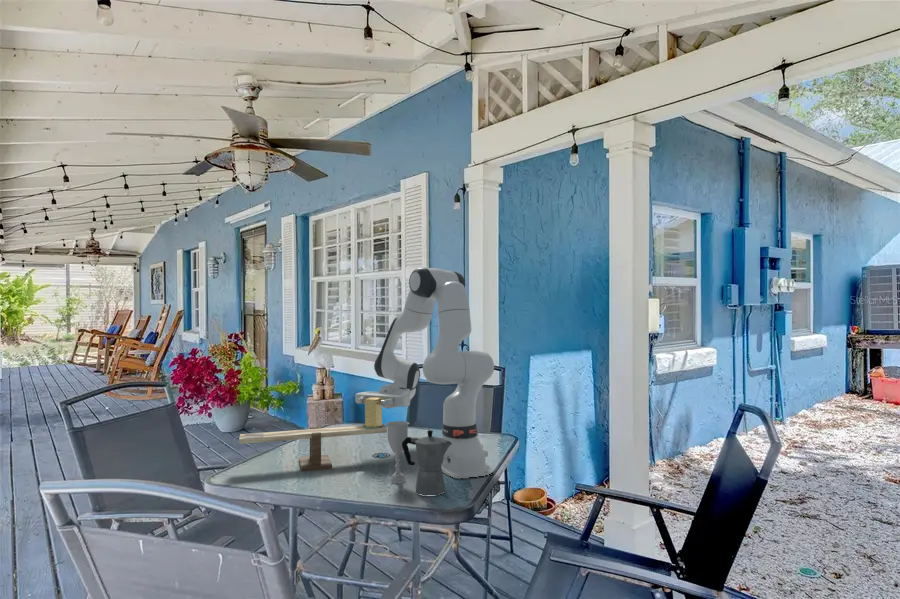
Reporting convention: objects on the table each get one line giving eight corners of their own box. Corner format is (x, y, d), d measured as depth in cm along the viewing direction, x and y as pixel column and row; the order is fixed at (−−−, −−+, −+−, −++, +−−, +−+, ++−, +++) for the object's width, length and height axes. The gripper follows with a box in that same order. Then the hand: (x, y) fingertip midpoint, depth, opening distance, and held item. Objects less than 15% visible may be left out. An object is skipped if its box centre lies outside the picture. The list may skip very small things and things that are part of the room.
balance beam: (386, 432, 191) (386, 427, 191) (239, 443, 176) (239, 438, 176) (383, 428, 198) (383, 423, 198) (240, 439, 182) (240, 434, 182)
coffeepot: (456, 488, 161) (455, 428, 162) (447, 499, 152) (447, 435, 152) (407, 484, 165) (407, 425, 166) (396, 494, 156) (396, 432, 157)
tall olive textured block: (382, 425, 194) (381, 397, 195) (375, 428, 190) (375, 399, 190) (371, 424, 196) (371, 397, 196) (365, 427, 192) (365, 399, 192)
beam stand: (332, 468, 181) (332, 433, 182) (301, 471, 178) (301, 435, 178) (328, 458, 195) (327, 424, 195) (299, 460, 192) (299, 426, 192)
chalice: (409, 477, 172) (409, 421, 172) (409, 484, 165) (408, 425, 165) (386, 477, 171) (386, 421, 172) (385, 484, 165) (384, 425, 165)
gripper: (365, 386, 209) (346, 391, 196) (413, 389, 202) (396, 394, 189) (365, 402, 209) (346, 409, 196) (413, 406, 202) (396, 412, 189)
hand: (371, 402), depth 193 cm, fingers open, 8 cm apart
